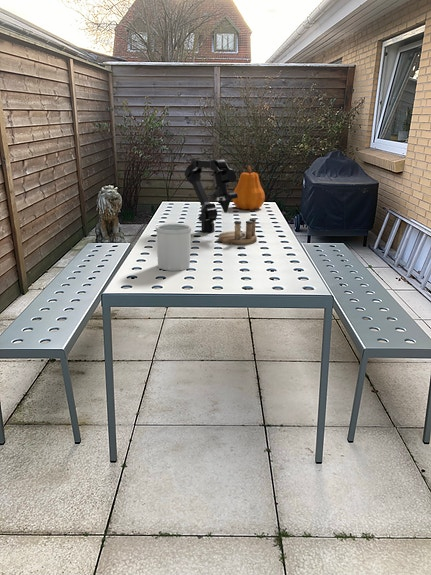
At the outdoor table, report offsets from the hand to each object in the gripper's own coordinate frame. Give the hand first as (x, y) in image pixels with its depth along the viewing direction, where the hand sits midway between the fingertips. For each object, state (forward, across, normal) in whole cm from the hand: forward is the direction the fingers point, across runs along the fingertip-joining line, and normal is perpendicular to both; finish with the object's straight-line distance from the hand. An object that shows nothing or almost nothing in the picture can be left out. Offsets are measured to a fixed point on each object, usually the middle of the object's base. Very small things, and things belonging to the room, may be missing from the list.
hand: (225, 212), depth 251 cm
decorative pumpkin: (+10, -61, +64) cm, 89 cm away
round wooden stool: (+14, +9, -2) cm, 17 cm away
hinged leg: (+12, +14, -4) cm, 19 cm away
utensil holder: (+12, +31, -54) cm, 64 cm away
